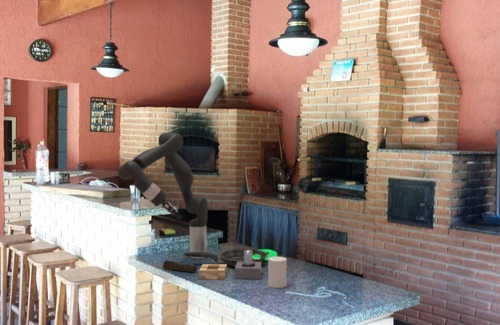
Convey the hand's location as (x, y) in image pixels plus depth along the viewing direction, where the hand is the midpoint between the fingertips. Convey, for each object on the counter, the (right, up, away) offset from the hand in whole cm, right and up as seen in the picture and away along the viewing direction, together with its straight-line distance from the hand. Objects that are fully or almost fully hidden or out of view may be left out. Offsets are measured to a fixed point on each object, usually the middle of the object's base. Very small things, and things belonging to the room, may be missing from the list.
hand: (179, 217), depth 241 cm
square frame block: (+16, -28, +3) cm, 33 cm away
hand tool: (-2, -28, +11) cm, 31 cm away
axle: (+33, -28, +2) cm, 43 cm away
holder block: (+33, -28, +3) cm, 44 cm away
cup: (+46, -29, -13) cm, 56 cm away
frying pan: (+24, -27, +24) cm, 43 cm away
